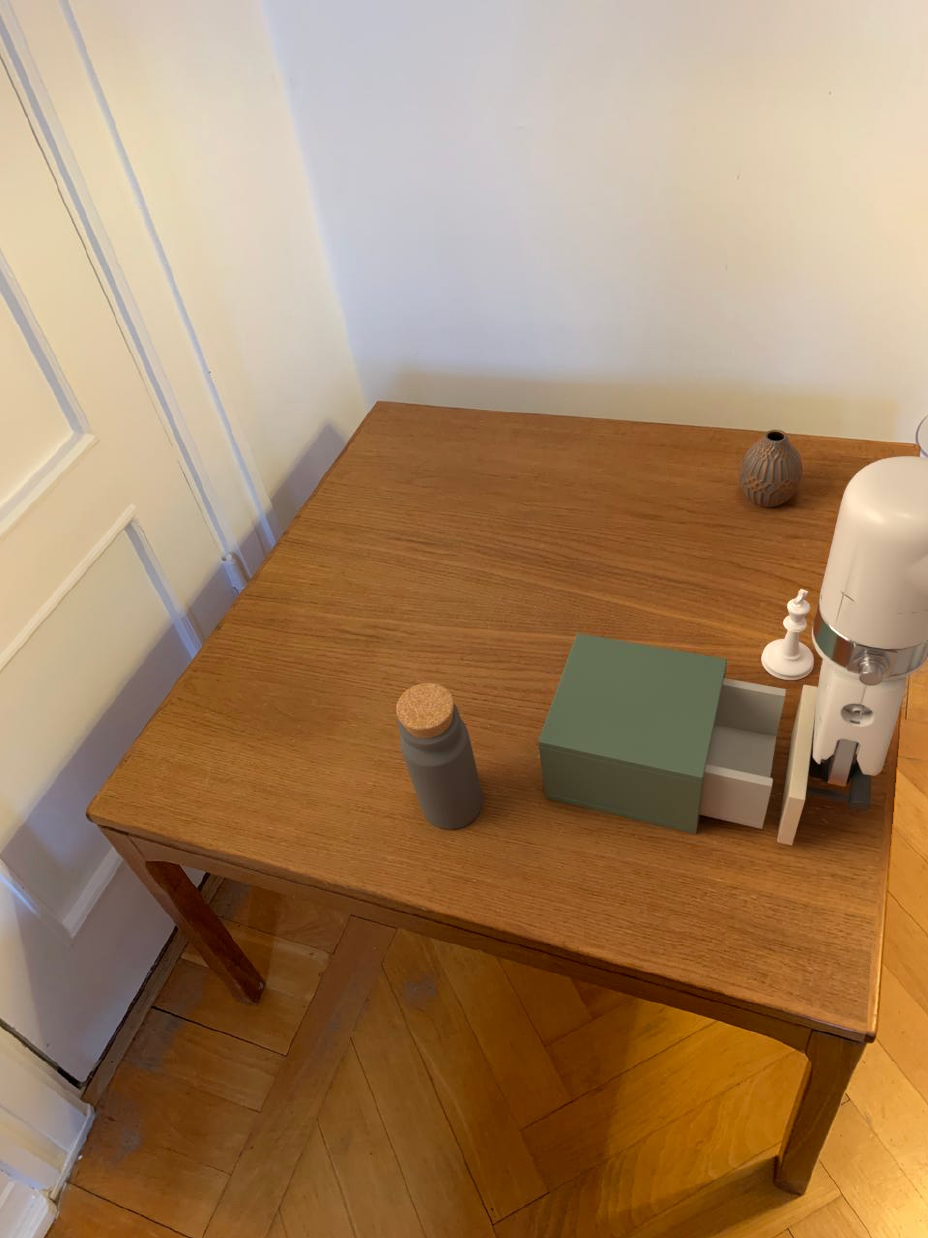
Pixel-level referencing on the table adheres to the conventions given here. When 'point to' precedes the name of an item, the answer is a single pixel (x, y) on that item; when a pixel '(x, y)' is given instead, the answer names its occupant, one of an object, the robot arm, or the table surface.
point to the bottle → (439, 756)
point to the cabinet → (632, 730)
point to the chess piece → (790, 645)
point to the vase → (770, 470)
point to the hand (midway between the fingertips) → (828, 772)
